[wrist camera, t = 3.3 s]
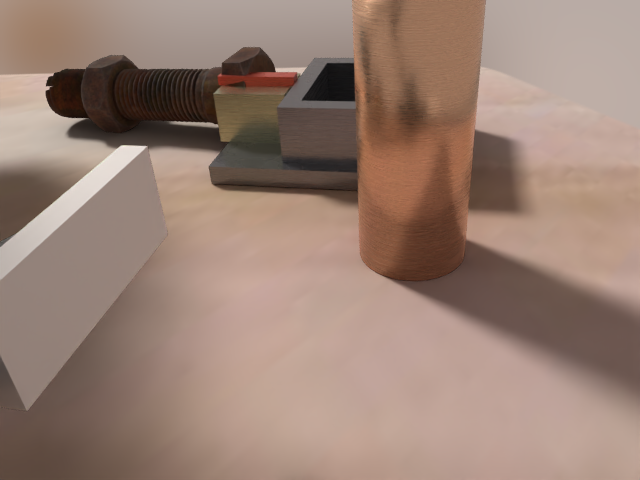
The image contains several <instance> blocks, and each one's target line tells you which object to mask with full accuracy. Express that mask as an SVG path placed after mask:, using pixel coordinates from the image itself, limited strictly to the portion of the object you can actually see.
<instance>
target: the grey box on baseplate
mask: <svg viewBox="0 0 640 480" xmlns="http://www.w3.org/2000/svg"><path fill="white" fill-rule="evenodd" d="M217 77H218V83H219V85H222V86H221V87H220V88H219V89H218V90H217V91H216V92H215V93H213V95H214V101H215V108H216V114H217V120H218V126H219V132H220V139H221V142H229V143H228V144H227V145H226V146H225V148H224V149H223V150H222V151H221V152H220V154H219V155H218V156H217V157H216V158H215V160H214V161H213V162H212V163H211V164H210V166H209V171H210V177H211V182H212V184H232V185H252V186H273V187H294V188H315V189H336V190H357V191H358V174H357V141H356V108H355V74H354V58H314V59H313V61H312V62H311V63H310V64H309V66H308V67H307V68H306V70H305V71H304V72H303V74H302V75H301V76H300V74H298V73H297V72H250V73H249V74H247V75H244V76H236V75H221V74H220V75H219V76H217ZM242 81H244V82H245V84H246V86H228V84H233V83H237V82H242Z"/></svg>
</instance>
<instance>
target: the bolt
mask: <svg viewBox="0 0 640 480" xmlns="http://www.w3.org/2000/svg"><path fill="white" fill-rule="evenodd" d="M250 72H276V71H275V67H274V64H273V62H272V61H271V59H270V58H269V57H268V55H267V54H266V53H265V52H264V51H263V50H262V49H261V48H260V47H251V48H250V47H244V48H242V49H240V50H239V51H238V52H236V53H235V54H234V55H232V56H231V57H229V58H228V59H227V60H225V61H224V62H223V63H222V67H215V68H212V69H210V70H209V69H205V70H203V69H199V70H198V69H195V70H194V69H149V70H147V69H138V68H137V67H136V66H135V65H134V63H133V62H132V61H130V60H129V59H128V58H127V57H125V56H124V55H117V56H116V55H114V56H113V55H110V56H107V57H104V58H101V59H99V60H96V61H94V62H93V63H91V64H89V66H88V67H87V68H86V69H65V70H62V71H61V72H57V73H54V75H53V76H50V77H49V78H48V80H47V83H46V86H53V87H50V90H47V91H46V98H47V101H48V104H49V106H50V107H51V109H52V110H53V111H54V112H55V113H57V114H59V115H60V116H63V117H68V118H89V119H91V120H92V121H93V122H94V123H95V124H96V125H97V126H98V127H100V128H101V129H102V130H104V131H105V132H114V133H122V132H125V131H127V130H129V129H131V128H133V127H135V126H136V125H137V124H139V122H140V121H141V120H149V121H151V120H153V121H156V120H157V121H177V122H178V121H181V122H184V121H185V122H205V123H207V122H211V123H214V124H218V120H217V114H216V108H215V101H214V95H213V93H215V92H216V91H217V90H218V89H219V88H220V87H221V86H222V85H219V83H218V77H217V76H219V75H220V74H221V75H236V76H244V75H247V74H249V73H250ZM228 86H246V84H245V82H244V81H242V82H237V83H233V84H228Z"/></svg>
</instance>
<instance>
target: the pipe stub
mask: <svg viewBox="0 0 640 480" xmlns="http://www.w3.org/2000/svg"><path fill="white" fill-rule="evenodd" d="M485 4H486V0H352V8H353V39H354V74H355V108H356V141H357V174H358V207H359V241H360V255H361V258H362V260H363V262H364V263H365V264H366V265H367V266H368V267H369V268H371V269H372V270H374V271H375V272H377V273H379V274H381V275H384V276H387V277H390V278H394V279H399V280H407V281H421V280H429V279H434V278H438V277H441V276H444V275H446V274H448V273H450V272H452V271H453V270H455V269H456V268H457V267H458V266H459V265H460V264H461V262H462V261H463V258H464V254H465V242H466V230H467V218H468V206H469V194H470V182H471V170H472V159H473V147H474V135H475V123H476V111H477V99H478V87H479V75H480V63H481V51H482V39H483V28H484V15H485Z"/></svg>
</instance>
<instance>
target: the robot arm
mask: <svg viewBox="0 0 640 480" xmlns="http://www.w3.org/2000/svg"><path fill="white" fill-rule="evenodd" d="M167 235H168V231H167V227H166V223H165V219H164V214H163V210H162V206H161V201H160V197H159V193H158V189H157V184H156V180H155V176H154V172H153V167H152V163H151V159H150V155H149V150H148V146H128V145H121V146H120V147H119V148H118V149H116V150H115V151H114V152H113V153H112V154H110V155H109V156H108V157H107V158H106V159H104V160H103V161H102V162H101V163H100V164H99V165H97V166H96V167H95V168H94V169H93V170H91V171H90V172H89V173H88V174H87V175H85V176H84V177H83V178H82V179H81V180H80V181H78V182H77V183H76V184H75V185H74V186H72V187H71V188H70V189H69V190H68V191H66V192H65V193H64V194H63V195H62V196H61V197H59V198H58V199H57V200H56V201H55V202H53V203H52V204H51V205H50V206H49V207H47V208H46V209H45V210H44V211H43V212H41V213H40V214H39V215H38V216H37V217H36V218H34V219H33V220H32V221H31V222H30V223H28V224H27V225H26V226H25V227H24V228H22V229H21V230H20V231H19V232H18V233H16V234H14V235H12V236H10V237H8V238H6V239H4V240H2V241H0V408H7V409H14V410H21V411H28V410H29V408H30V407H31V406H32V405H33V403H34V402H35V401H36V400H37V398H38V397H39V396H40V395H41V393H42V392H43V391H44V390H45V388H46V387H47V386H48V385H49V383H50V382H51V381H52V380H53V378H54V377H55V376H56V375H57V373H58V372H59V371H60V369H61V368H62V367H63V366H64V364H65V363H66V362H67V361H68V359H69V358H70V357H71V356H72V354H73V353H74V352H75V351H76V349H77V348H78V347H79V346H80V344H81V343H82V342H83V341H84V339H85V338H86V337H87V336H88V334H89V333H90V332H91V331H92V329H93V328H94V327H95V326H96V324H97V323H98V322H99V321H100V319H101V318H102V317H103V316H104V314H105V313H106V312H107V310H108V309H109V308H110V307H111V305H112V304H113V303H114V302H115V300H116V299H117V298H118V297H119V295H120V294H121V293H122V292H123V290H124V289H125V288H126V287H127V285H128V284H129V283H130V282H131V280H132V279H133V278H134V277H135V275H136V274H137V273H138V272H139V270H140V269H141V268H142V267H143V265H144V264H145V263H146V262H147V260H148V259H149V258H150V257H151V255H152V254H153V253H154V251H155V250H156V249H157V248H158V246H159V245H160V244H161V243H162V241H163V240H164V239H165V238H166V236H167Z"/></svg>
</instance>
